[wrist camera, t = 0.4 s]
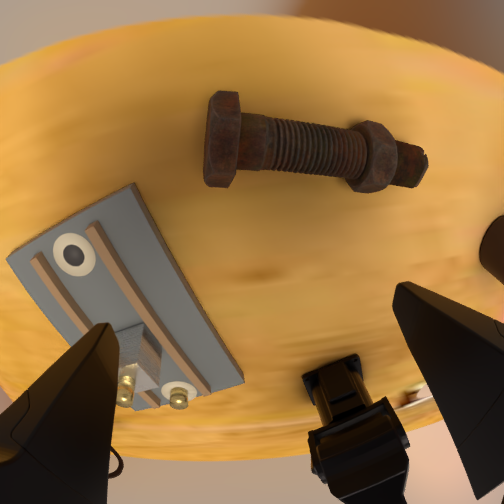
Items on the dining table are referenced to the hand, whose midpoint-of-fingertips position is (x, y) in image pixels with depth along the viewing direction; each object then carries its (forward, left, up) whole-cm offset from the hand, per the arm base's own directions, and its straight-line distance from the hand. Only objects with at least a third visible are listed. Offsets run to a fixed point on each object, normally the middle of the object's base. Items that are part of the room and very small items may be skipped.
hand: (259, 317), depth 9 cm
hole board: (-8, +12, -14) cm, 20 cm away
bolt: (0, -7, -14) cm, 16 cm away
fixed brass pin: (-17, +12, -12) cm, 24 cm away
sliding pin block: (-9, +12, -12) cm, 19 cm away
